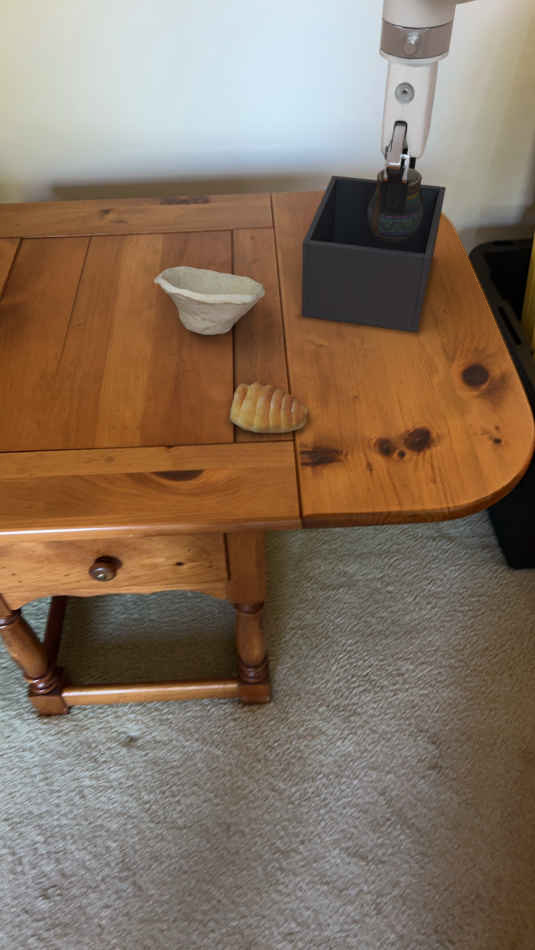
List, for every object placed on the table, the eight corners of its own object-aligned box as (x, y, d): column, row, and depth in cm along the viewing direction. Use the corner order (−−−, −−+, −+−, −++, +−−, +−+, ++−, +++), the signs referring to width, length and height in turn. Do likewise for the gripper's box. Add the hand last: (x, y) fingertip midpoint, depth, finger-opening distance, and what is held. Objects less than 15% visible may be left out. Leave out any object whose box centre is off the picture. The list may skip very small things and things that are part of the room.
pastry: (312, 404, 84) (312, 382, 81) (301, 443, 80) (301, 421, 77) (240, 394, 85) (239, 372, 82) (226, 431, 81) (224, 409, 78)
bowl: (283, 311, 96) (282, 249, 89) (235, 369, 89) (230, 307, 81) (197, 285, 101) (188, 224, 93) (144, 338, 93) (130, 276, 86)
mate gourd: (392, 255, 85) (401, 179, 78) (352, 232, 89) (357, 157, 82) (430, 235, 88) (443, 160, 80) (390, 213, 92) (398, 140, 84)
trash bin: (432, 259, 103) (445, 186, 94) (417, 332, 92) (430, 257, 83) (329, 247, 107) (332, 175, 98) (301, 316, 95) (302, 242, 86)
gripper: (442, 68, 65) (416, 236, 79) (458, 13, 76) (433, 169, 89) (366, 64, 67) (354, 229, 80) (392, 10, 77) (378, 164, 91)
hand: (396, 196), depth 85 cm, fingers closed on mate gourd, 6 cm apart
